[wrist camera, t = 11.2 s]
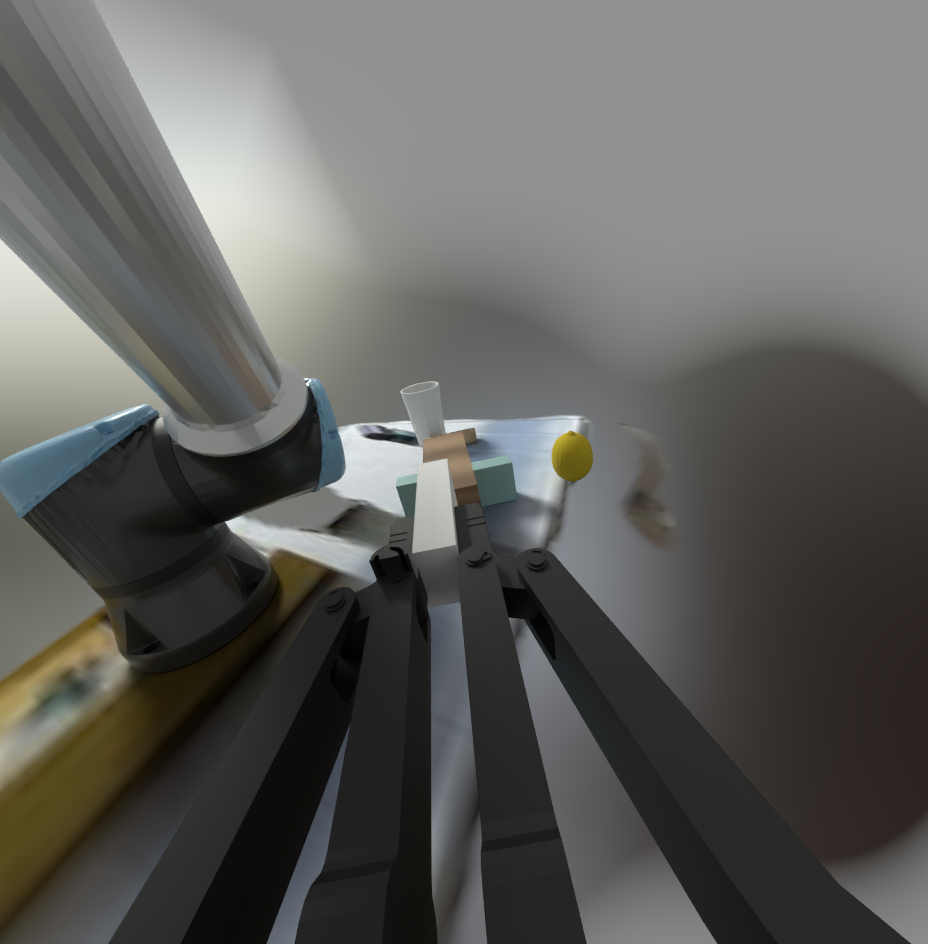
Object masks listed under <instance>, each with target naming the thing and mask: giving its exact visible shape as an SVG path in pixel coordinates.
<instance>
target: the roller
mask: <svg viewBox="0 0 928 944" xmlns="http://www.w3.org/2000/svg"><path fill="white" fill-rule="evenodd" d="M461 431H462V433H463V437H464V440H465V444H470V443H474V442H477V438H476V433H475V429H474V428H470V429H465V430H461ZM461 431H456V432H461ZM456 432H452V433H456ZM452 433H447V434H452ZM447 434H442V435H438V436H443V435H447ZM438 436H433V437H438ZM433 437H428V438H426V439H429V438H433Z"/></svg>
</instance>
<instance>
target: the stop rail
mask: <svg viewBox="0 0 928 944" xmlns="http://www.w3.org/2000/svg"><path fill="white" fill-rule="evenodd" d="M471 465H472V468H473V472H474V475H475V479H476V482H477V486H478V491H479V496H480V501H481V506H482V507H483V506H488V505H493V504H498V503H503V502H507V501H512V500H517V494H516V487H515V480H514V473H513V465H512V461H511V459H510V457H509V455H505V456H501V457H496V458H491V459H486V460H482V461H477V462H472V463H471ZM396 488H397V491H398V494H399V497H400V500H401V503H402V506H403V509H404V512H405V515H406V517H409V516H414V515H415V504H416V489H417V474H415V475H410V476H405V477H400V478H398V479H397V485H396Z"/></svg>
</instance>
